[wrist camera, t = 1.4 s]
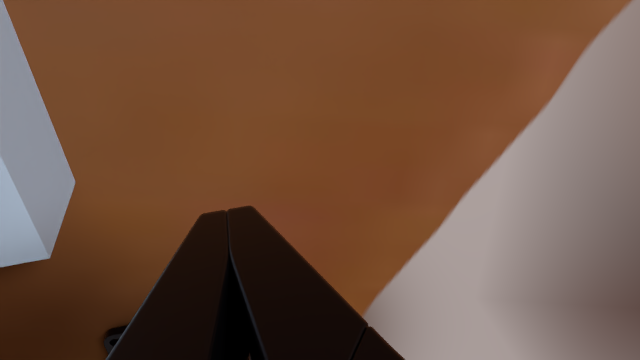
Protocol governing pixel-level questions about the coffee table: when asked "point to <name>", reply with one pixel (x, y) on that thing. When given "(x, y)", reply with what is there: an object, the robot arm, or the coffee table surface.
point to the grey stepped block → (27, 160)
